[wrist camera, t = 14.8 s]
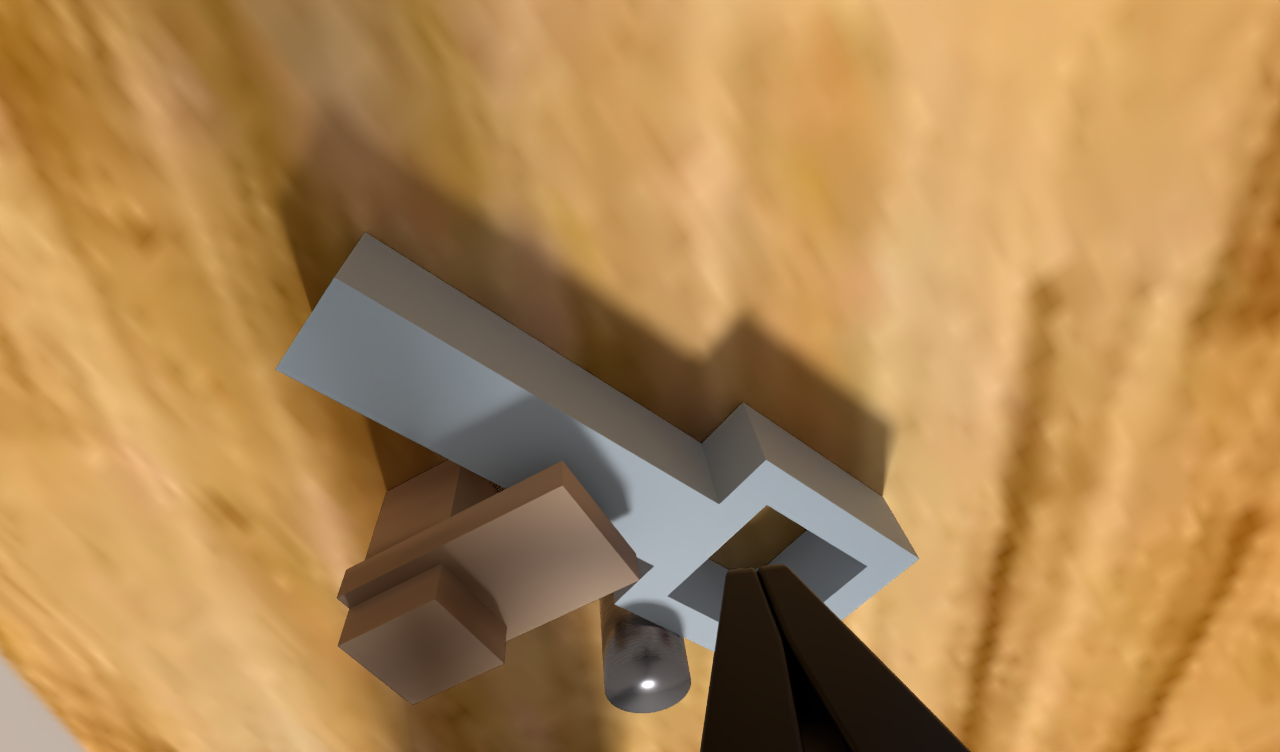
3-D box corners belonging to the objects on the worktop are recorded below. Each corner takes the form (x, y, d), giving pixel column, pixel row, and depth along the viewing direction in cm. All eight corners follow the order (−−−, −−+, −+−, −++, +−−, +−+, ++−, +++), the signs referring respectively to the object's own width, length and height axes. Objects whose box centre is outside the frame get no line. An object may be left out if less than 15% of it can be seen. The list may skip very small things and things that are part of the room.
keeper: (625, 470, 24) (643, 615, 19) (451, 556, 25) (423, 714, 20) (562, 383, 22) (562, 518, 17) (376, 482, 23) (323, 635, 18)
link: (882, 497, 25) (919, 558, 23) (749, 611, 28) (768, 678, 25) (403, 171, 18) (378, 208, 16) (279, 365, 20) (239, 424, 18)
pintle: (656, 618, 28) (671, 718, 24) (588, 605, 27) (592, 706, 23) (684, 568, 26) (704, 666, 23) (614, 552, 26) (623, 651, 22)
